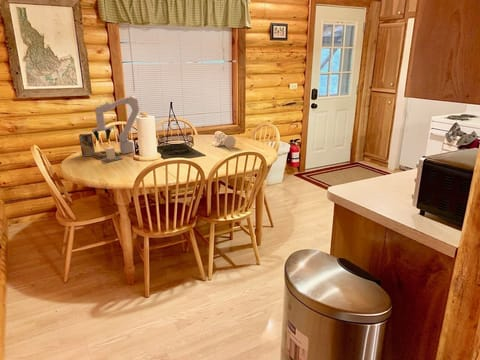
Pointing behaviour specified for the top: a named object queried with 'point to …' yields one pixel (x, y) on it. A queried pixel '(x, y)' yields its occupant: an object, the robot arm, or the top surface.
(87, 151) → the coffee box
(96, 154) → the walnut square frame
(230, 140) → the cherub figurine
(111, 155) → the cream block
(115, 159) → the slate mat
